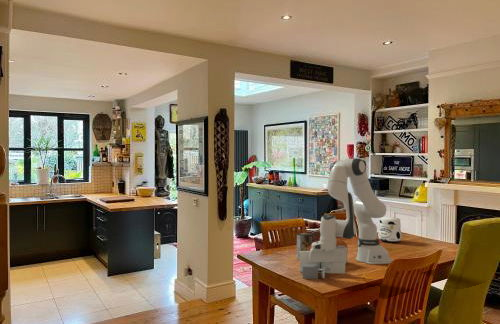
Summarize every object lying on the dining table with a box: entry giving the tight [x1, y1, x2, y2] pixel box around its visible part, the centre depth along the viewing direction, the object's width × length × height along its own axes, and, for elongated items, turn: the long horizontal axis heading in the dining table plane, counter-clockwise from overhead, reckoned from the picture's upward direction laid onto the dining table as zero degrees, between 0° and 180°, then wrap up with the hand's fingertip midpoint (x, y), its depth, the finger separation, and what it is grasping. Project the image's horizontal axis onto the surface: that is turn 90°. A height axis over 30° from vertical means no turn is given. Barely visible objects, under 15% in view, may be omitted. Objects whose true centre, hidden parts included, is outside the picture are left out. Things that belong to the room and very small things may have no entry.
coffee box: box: [296, 232, 314, 260], centre depth 241 cm, size 9×6×16 cm
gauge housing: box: [299, 251, 346, 280], centre depth 206 cm, size 26×12×12 cm, turn 86°
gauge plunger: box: [302, 262, 326, 279], centre depth 205 cm, size 12×12×10 cm
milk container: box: [377, 216, 402, 243], centre depth 294 cm, size 17×17×18 cm
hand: (327, 270), depth 203 cm, fingers closed
